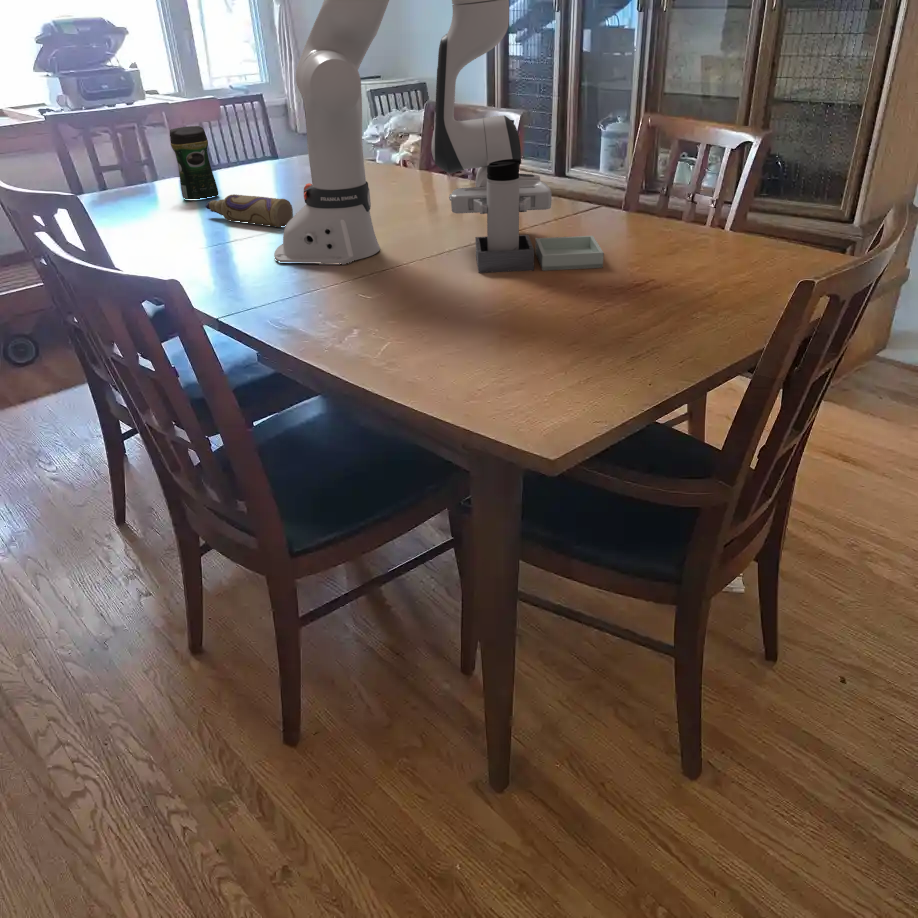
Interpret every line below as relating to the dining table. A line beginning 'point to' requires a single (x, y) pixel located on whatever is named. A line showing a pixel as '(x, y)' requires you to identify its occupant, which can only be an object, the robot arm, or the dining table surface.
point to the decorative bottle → (253, 209)
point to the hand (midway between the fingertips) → (503, 208)
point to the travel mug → (503, 205)
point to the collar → (504, 257)
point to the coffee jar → (193, 162)
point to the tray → (569, 253)
